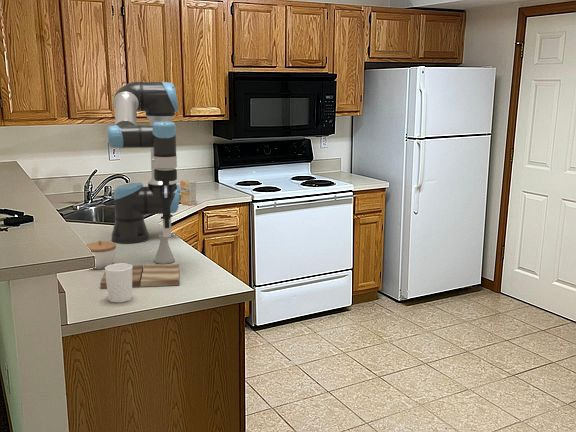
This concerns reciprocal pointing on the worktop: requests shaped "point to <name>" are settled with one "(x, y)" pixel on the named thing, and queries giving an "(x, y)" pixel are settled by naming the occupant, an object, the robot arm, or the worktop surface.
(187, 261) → the worktop surface
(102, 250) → the lidded jar
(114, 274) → the white cup
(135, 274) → the walnut plank
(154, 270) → the oak plank
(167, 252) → the flask
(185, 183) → the supplement box
